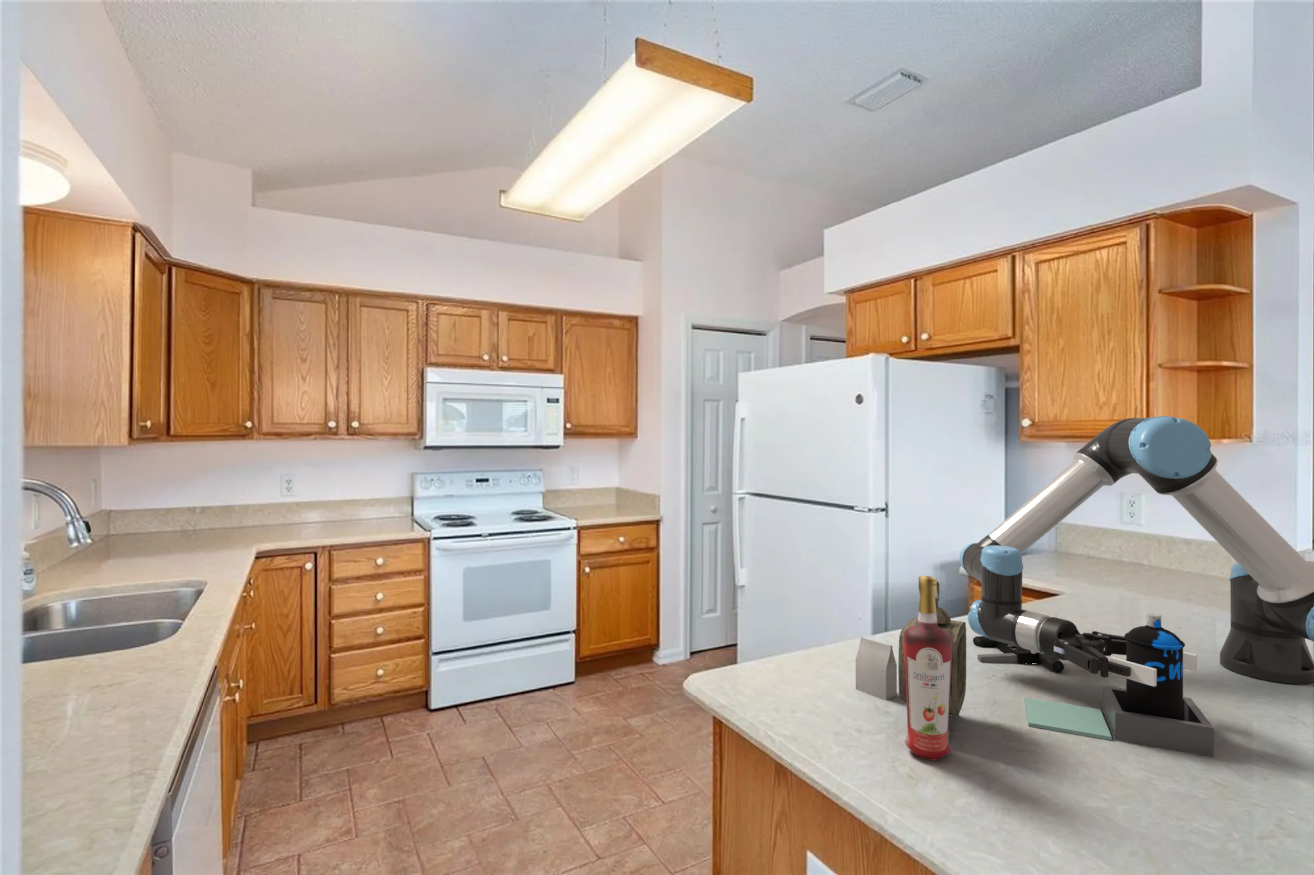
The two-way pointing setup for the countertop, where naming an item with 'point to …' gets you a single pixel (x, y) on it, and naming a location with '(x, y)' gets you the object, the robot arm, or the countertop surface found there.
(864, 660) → the tea bag
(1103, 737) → the occupied pad
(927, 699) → the liquor
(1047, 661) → the door handle
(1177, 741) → the grey square tray
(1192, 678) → the countertop surface
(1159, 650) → the aerosol can
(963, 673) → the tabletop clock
